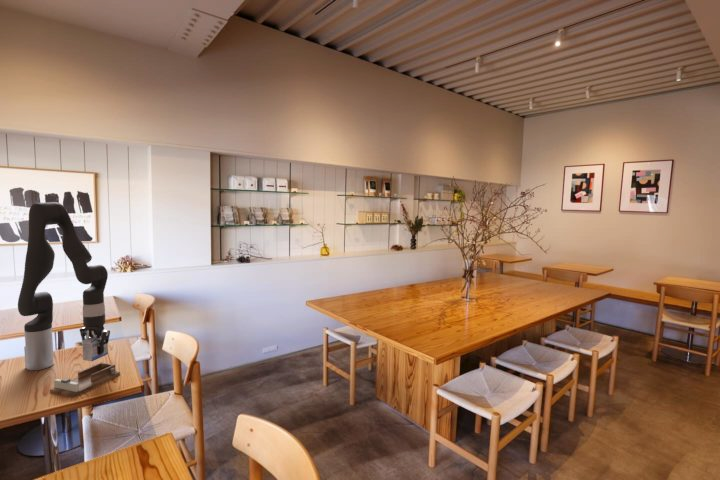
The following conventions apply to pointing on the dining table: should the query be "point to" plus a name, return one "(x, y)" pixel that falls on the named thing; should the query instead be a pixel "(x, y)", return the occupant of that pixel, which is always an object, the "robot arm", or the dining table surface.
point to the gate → (66, 384)
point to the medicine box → (92, 349)
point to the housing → (90, 378)
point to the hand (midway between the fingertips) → (95, 353)
